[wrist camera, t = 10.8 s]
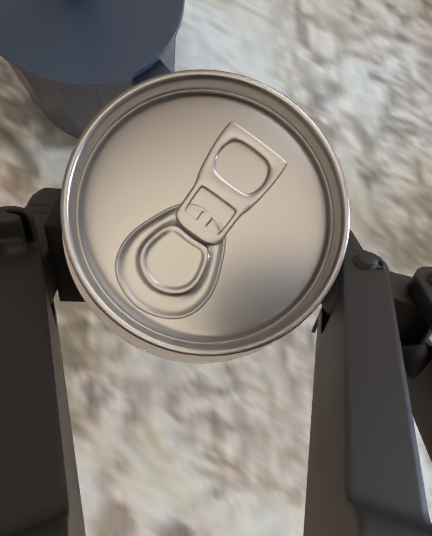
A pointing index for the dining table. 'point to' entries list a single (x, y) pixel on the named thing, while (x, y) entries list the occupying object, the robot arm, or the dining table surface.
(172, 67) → the pot
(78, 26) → the pot lid
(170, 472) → the dining table surface
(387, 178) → the dining table surface
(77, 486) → the robot arm
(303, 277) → the can
